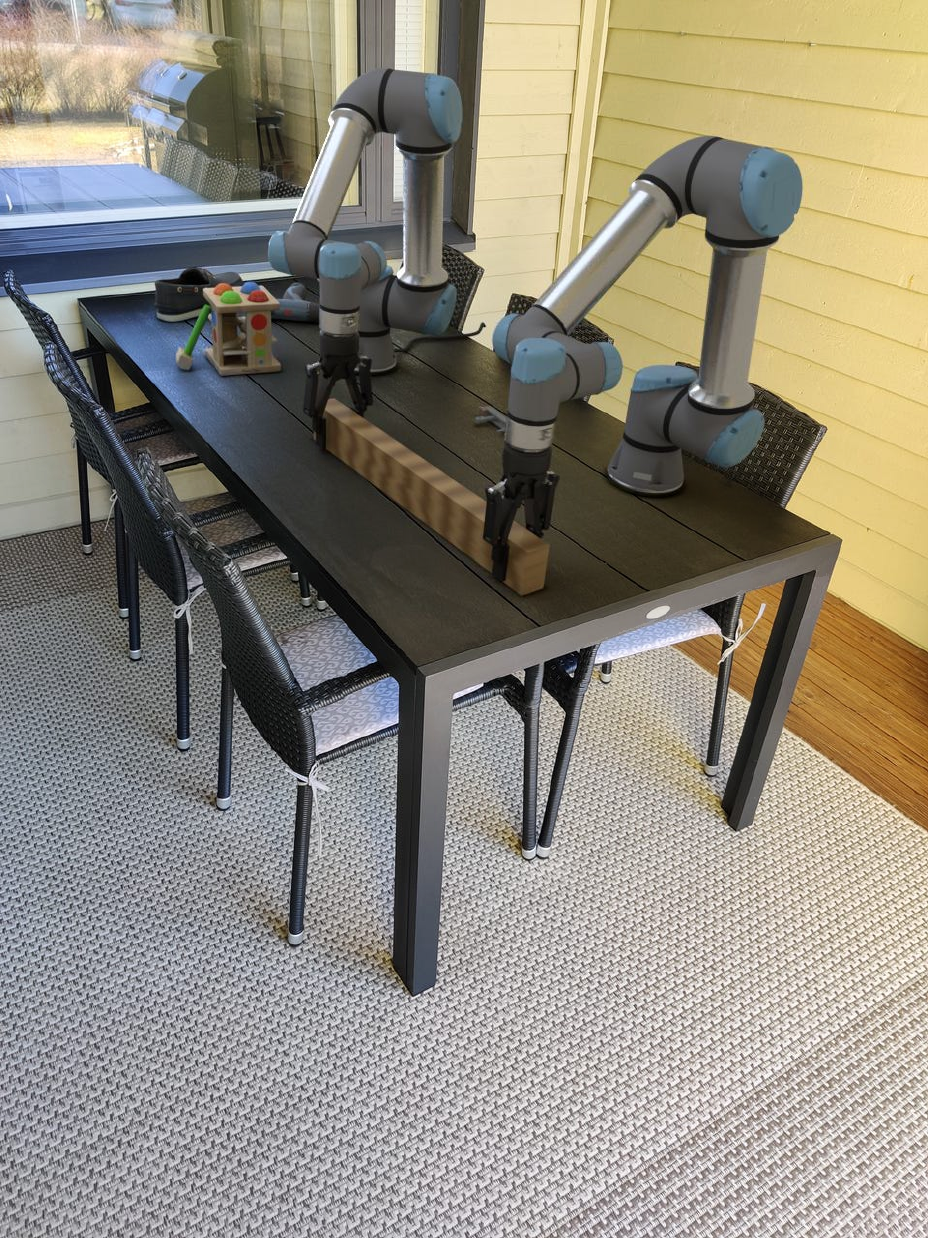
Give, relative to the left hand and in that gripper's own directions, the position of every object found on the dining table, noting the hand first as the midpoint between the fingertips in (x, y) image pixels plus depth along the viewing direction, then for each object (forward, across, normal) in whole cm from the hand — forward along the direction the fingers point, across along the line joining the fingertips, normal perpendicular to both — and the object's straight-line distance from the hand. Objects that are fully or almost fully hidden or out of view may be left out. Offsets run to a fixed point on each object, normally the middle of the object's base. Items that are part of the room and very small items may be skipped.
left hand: (338, 443), depth 198 cm
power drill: (+1, +36, +78) cm, 86 cm away
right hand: (0, 0, -56) cm, 56 cm away
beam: (+1, 0, -28) cm, 28 cm away
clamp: (+1, +37, -8) cm, 38 cm away
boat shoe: (+1, +13, +94) cm, 94 cm away
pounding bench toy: (+1, 0, +51) cm, 51 cm away
